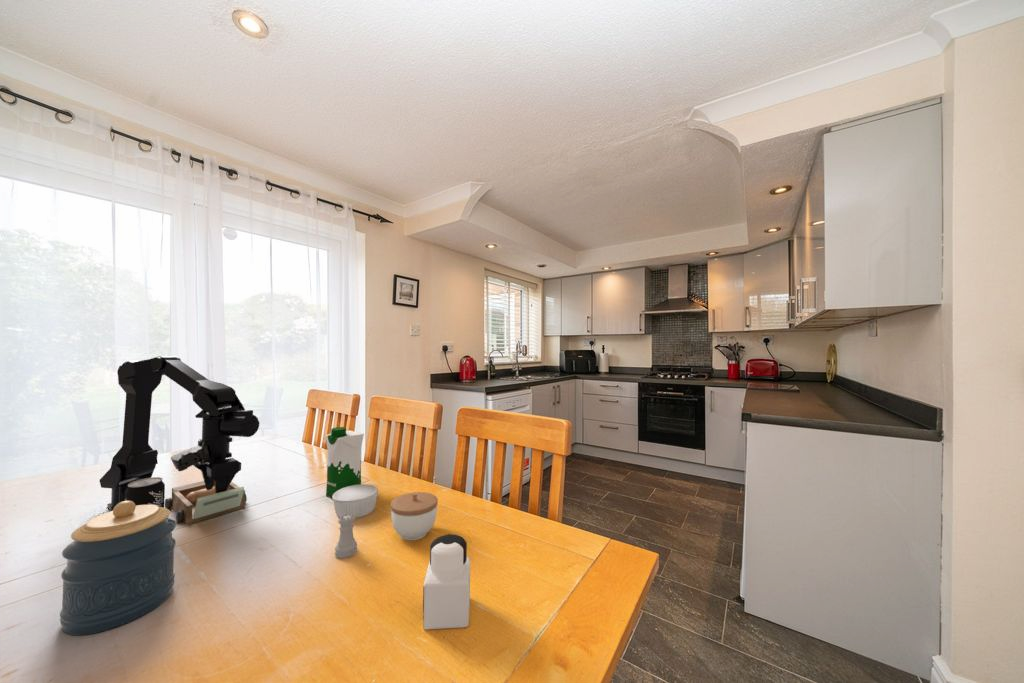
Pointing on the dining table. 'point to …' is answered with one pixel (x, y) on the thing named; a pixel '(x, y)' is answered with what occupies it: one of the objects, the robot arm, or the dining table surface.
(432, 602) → the white block figurine
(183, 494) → the wooden drawer box
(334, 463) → the milk carton
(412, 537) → the lidded jar
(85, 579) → the canister
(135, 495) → the beverage can
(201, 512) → the tailgate
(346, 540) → the rook chess piece
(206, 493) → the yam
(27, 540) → the dining table surface
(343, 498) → the ramekin
